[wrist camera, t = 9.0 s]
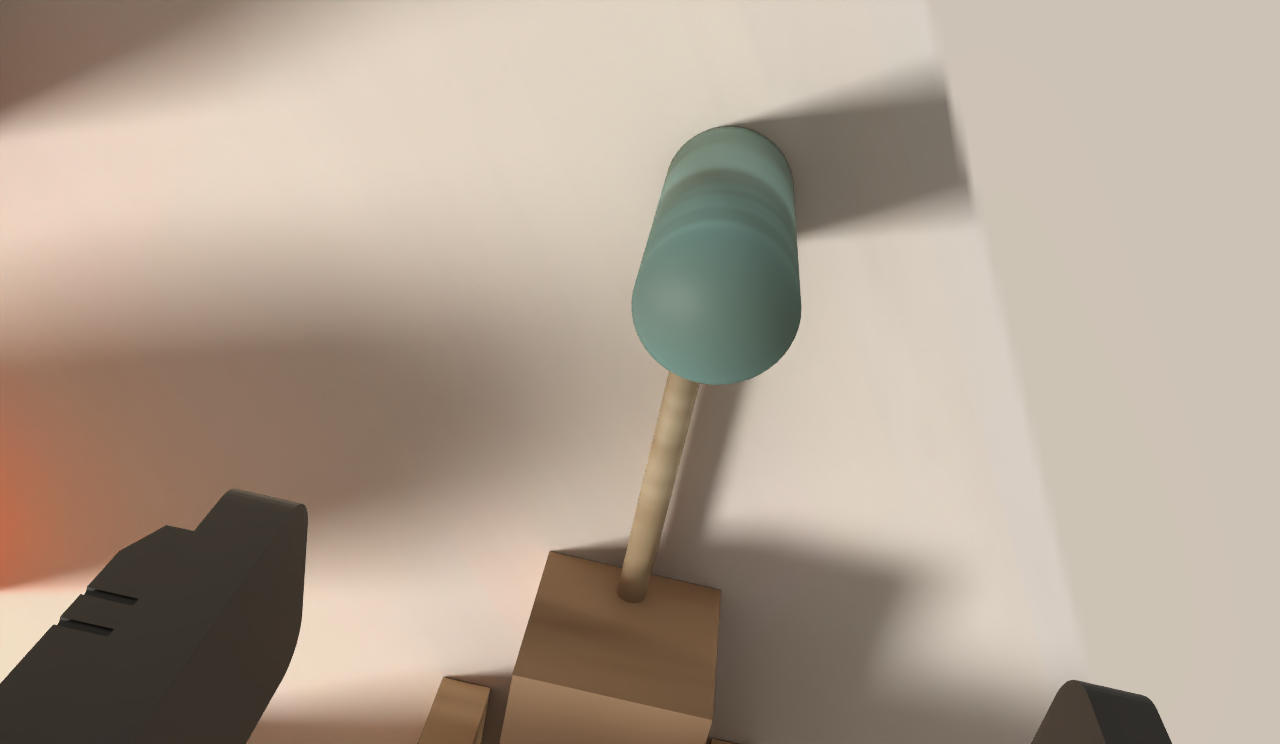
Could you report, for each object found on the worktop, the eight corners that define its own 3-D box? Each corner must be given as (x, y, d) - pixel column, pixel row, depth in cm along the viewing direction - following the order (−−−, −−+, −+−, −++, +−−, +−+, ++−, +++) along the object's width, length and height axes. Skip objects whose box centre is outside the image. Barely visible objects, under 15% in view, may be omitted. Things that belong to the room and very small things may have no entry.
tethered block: (683, 715, 33) (663, 923, 27) (524, 679, 33) (467, 878, 27) (851, 152, 25) (878, 263, 18) (637, 104, 25) (592, 199, 18)
